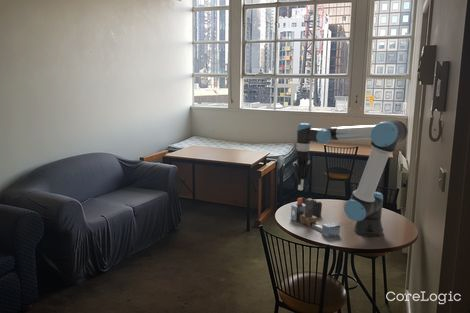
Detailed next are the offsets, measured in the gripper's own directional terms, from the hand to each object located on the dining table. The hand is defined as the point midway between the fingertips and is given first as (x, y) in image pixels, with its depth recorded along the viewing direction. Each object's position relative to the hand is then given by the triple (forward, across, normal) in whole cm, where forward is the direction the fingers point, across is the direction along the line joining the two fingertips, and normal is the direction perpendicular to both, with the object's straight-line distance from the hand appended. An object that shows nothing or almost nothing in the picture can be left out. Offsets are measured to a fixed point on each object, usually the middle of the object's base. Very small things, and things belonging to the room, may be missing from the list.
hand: (300, 189), depth 238 cm
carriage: (+18, 0, +8) cm, 20 cm away
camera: (+19, -15, -6) cm, 25 cm away
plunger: (+10, 0, 0) cm, 10 cm away
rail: (+18, 0, +14) cm, 23 cm away
